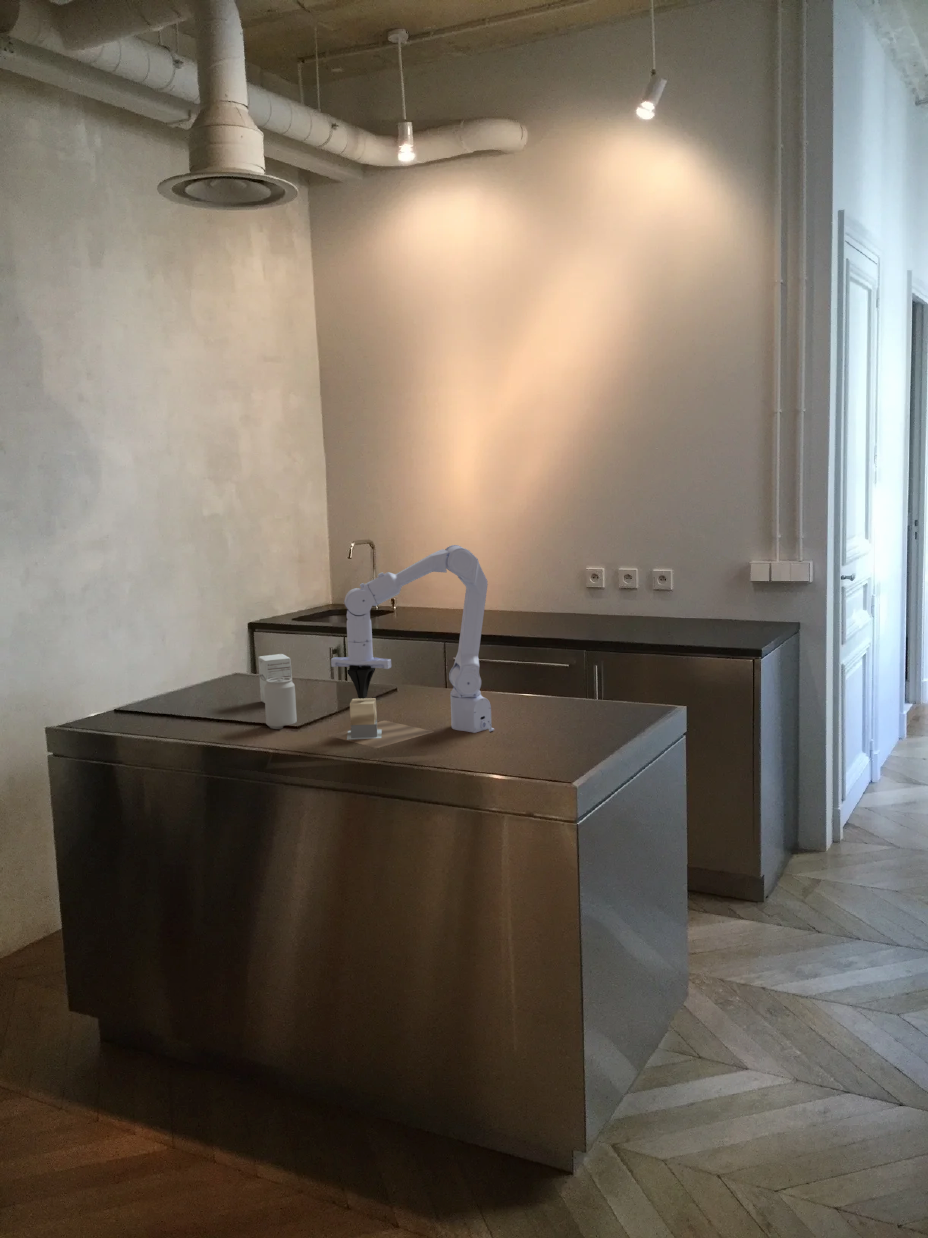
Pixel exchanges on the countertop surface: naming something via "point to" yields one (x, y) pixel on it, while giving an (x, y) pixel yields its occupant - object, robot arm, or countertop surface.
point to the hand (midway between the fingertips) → (362, 697)
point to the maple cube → (363, 711)
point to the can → (280, 702)
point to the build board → (385, 734)
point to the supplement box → (273, 669)
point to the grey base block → (364, 731)
